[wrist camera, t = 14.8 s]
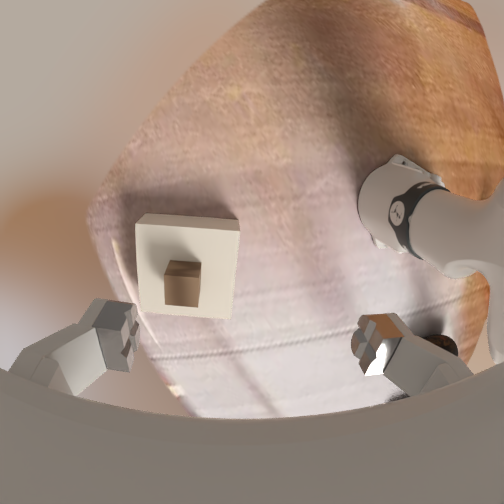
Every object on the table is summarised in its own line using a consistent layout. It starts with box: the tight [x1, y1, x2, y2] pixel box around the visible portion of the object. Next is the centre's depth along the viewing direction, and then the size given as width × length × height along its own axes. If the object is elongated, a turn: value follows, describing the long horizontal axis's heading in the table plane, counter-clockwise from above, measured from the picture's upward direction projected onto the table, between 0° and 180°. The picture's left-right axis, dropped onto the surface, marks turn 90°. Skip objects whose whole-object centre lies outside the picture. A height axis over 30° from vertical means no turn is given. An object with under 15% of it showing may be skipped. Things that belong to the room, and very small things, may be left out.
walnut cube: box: [164, 260, 202, 308], centre depth 40 cm, size 5×5×5 cm
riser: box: [135, 213, 240, 319], centre depth 45 cm, size 16×16×6 cm
